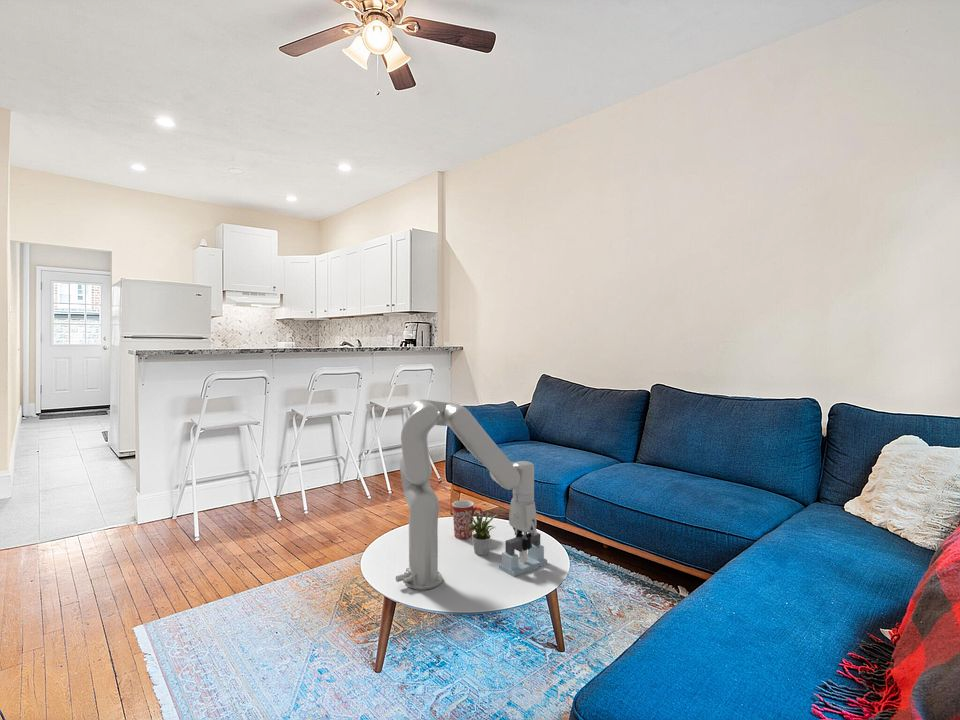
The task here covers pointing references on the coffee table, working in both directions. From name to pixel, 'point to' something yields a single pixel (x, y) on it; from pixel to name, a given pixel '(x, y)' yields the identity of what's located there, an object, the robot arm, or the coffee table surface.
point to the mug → (460, 522)
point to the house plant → (480, 534)
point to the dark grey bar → (519, 543)
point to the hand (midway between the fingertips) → (523, 547)
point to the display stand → (523, 560)
